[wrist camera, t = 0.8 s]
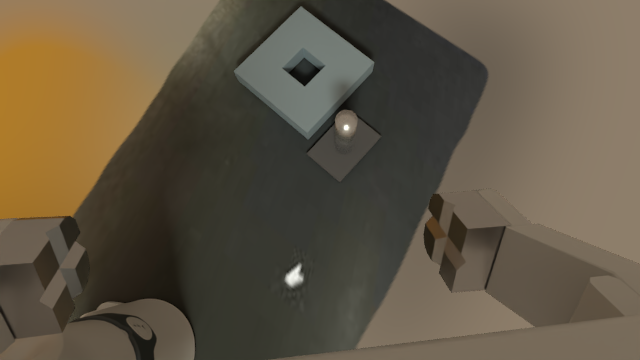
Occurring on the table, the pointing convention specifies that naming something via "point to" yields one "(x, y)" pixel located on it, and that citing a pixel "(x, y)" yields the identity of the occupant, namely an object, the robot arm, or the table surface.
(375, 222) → the table surface
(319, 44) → the grey square hole board
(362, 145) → the rubber mat
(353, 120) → the steel pin
